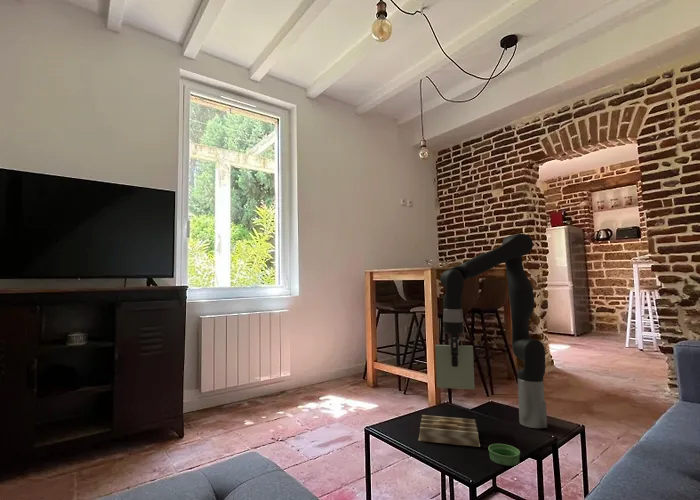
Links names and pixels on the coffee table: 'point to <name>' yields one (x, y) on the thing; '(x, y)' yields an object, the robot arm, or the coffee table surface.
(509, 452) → the ramekin
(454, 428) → the offcut front
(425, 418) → the rack
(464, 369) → the sage board
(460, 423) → the offcut middle
